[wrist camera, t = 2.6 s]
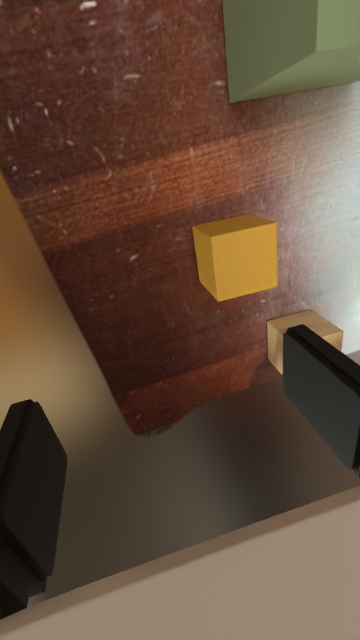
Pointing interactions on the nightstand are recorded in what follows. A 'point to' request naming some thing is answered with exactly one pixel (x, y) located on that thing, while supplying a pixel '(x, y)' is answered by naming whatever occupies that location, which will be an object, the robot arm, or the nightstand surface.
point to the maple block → (305, 317)
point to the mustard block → (236, 255)
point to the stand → (290, 46)
